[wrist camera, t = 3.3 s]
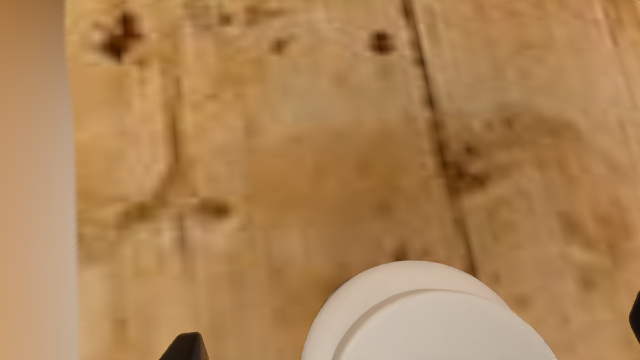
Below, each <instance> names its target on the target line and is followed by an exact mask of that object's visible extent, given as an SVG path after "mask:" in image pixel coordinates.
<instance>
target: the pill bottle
mask: <svg viewBox="0 0 640 360" xmlns="http://www.w3.org/2000/svg"><path fill="white" fill-rule="evenodd" d="M301 360H558V359H557V358H556V356H555V355H554V353H553V351H552V350H551V349H550V347H549V346H548V345H547V343H546V342H545V341H544V340H543V338H542V337H541V336H540V335H539V334H538V333H537V332H536V331H535V330H534V329H533V328H532V327H531V326H530V325H529V324H528V323H527V322H526V321H524V320H523V319H522V318H520V317H519V316H518V315H516V314H515V313H514V312H513V311H512V309H511V308H510V307H509V306H508V305H507V304H506V302H505V301H504V300H503V299H502V298H500V297H499V296H498V295H497V294H496V293H495V292H494V291H493V290H492V289H490V288H489V287H488V286H486V285H485V284H484V283H482V282H481V281H479V280H478V279H476V278H474V277H473V276H471V275H469V274H467V273H465V272H463V271H461V270H459V269H456V268H453V267H451V266H447V265H444V264H440V263H435V262H429V261H417V260H412V261H397V262H390V263H386V264H382V265H378V266H375V267H372V268H370V269H368V270H365V271H363V272H360V273H359V274H357V275H355V276H353V277H351V278H350V279H348V280H346V281H345V282H344V283H342V284H341V285H340V286H339V287H337V288H336V289H335V290H334V291H333V292H332V293H331V295H330V296H329V297H328V298H327V300H326V301H325V302H324V304H323V305H322V307H321V309H320V311H319V312H318V314H317V316H316V317H315V319H314V321H313V323H312V325H311V327H310V329H309V332H308V335H307V337H306V340H305V344H304V347H303V352H302V356H301Z"/></svg>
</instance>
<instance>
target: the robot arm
mask: <svg viewBox="0 0 640 360" xmlns="http://www.w3.org/2000/svg"><path fill="white" fill-rule="evenodd" d="M629 322H630V326H631V328H632V330H633V332H634V334H635V336H636V338H637V340H638V342H639V344H640V291H639V292H638V294H637V297H636V299H635V302H634V304H633V307H632V309H631V312H630V315H629ZM159 360H209V357H208V354H207V351H206V348H205V345H204V342H203V339H202V336H201V334H200V333H199V332H190V333H182V334H180V335H178V336H177V337H176V338H175V340H174V341H173V342H172V343H171V345H170V346H169V347H168V349H167V350H166V351H165V353H164V354H163V355H162V356H161V358H160V359H159Z"/></svg>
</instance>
